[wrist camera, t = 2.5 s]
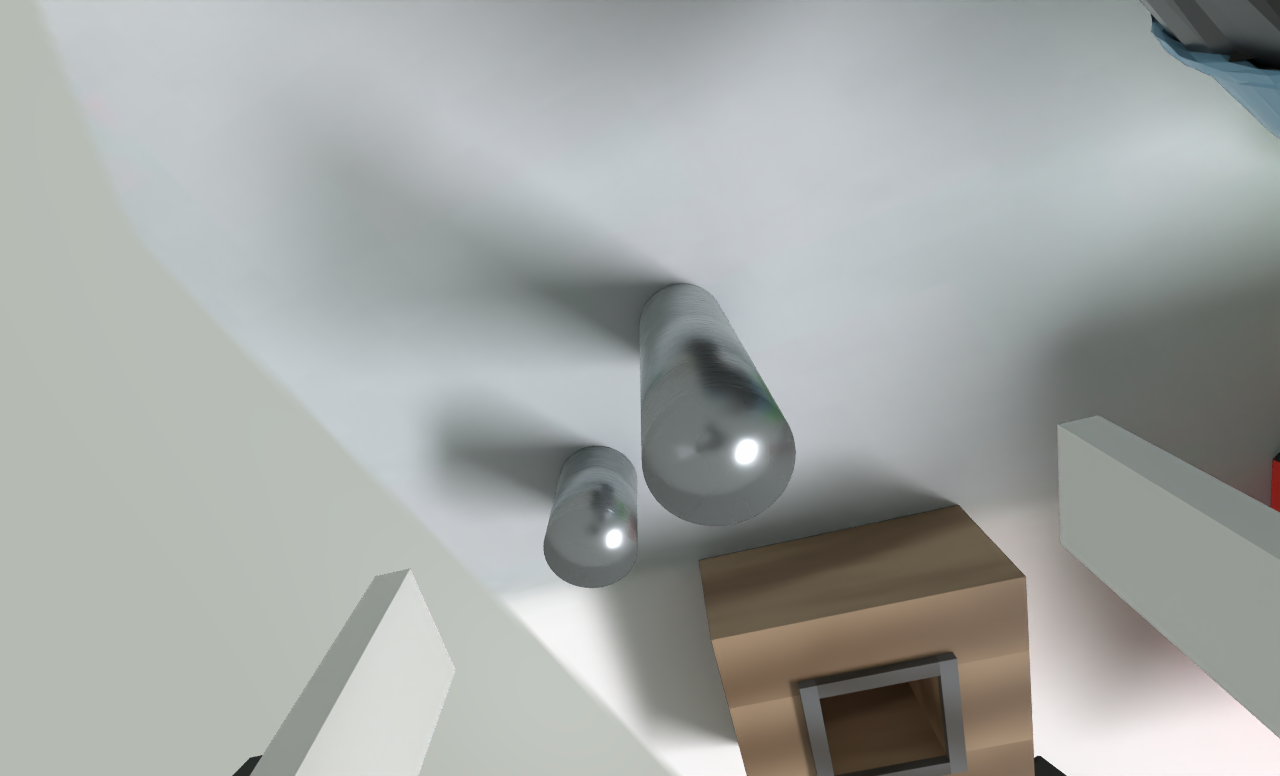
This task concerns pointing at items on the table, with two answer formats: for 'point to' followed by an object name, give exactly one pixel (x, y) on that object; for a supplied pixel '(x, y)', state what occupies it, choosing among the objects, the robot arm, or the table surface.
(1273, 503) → the jack-in-the-box
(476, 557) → the table surface
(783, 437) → the long pin
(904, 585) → the hole block
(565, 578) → the short pin
